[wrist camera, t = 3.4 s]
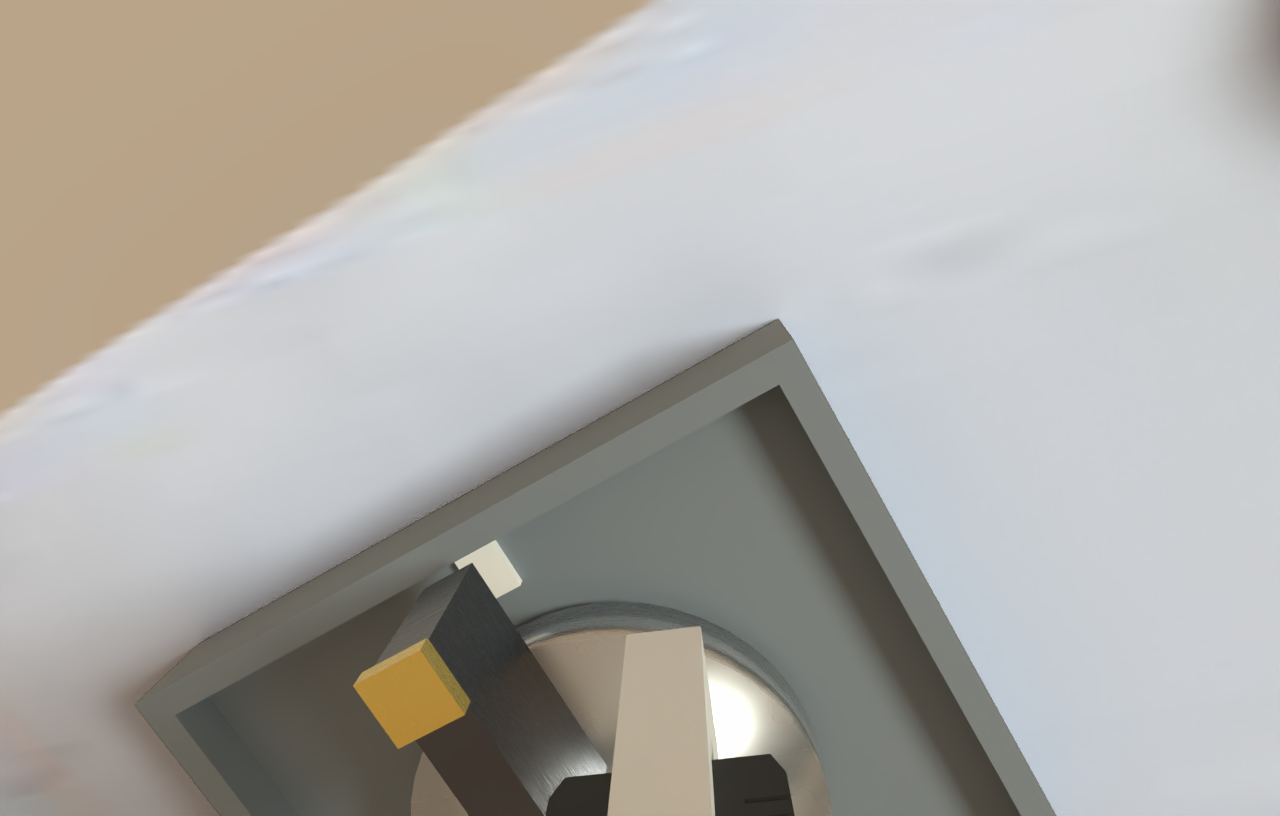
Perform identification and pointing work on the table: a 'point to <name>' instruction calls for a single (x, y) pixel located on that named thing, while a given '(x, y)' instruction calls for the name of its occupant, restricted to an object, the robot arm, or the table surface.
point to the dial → (556, 699)
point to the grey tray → (637, 573)
